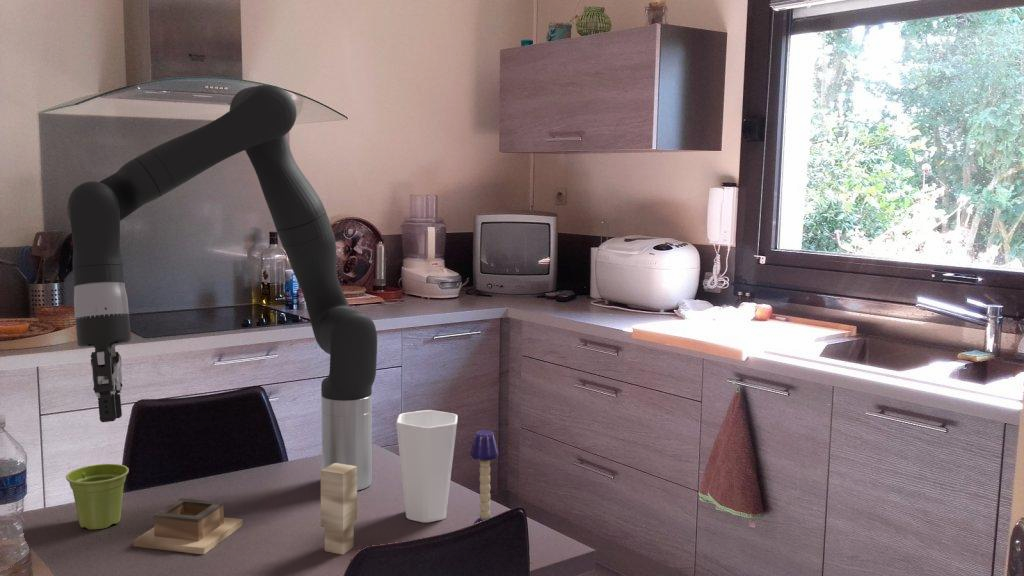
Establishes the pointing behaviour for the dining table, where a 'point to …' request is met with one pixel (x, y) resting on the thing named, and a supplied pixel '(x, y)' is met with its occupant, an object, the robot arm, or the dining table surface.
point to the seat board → (189, 527)
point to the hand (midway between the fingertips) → (111, 420)
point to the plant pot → (98, 494)
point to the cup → (426, 462)
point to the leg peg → (339, 506)
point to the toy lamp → (484, 467)
